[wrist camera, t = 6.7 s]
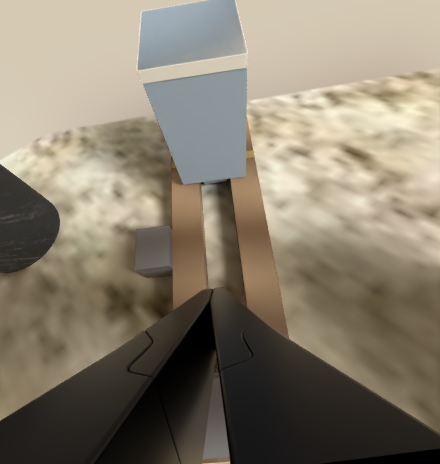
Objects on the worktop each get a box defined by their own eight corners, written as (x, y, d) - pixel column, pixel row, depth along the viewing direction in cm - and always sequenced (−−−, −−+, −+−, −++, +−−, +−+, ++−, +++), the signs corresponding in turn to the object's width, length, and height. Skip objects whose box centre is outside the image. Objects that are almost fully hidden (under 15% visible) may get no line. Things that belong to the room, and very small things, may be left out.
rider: (246, 189, 20) (248, 53, 11) (187, 196, 21) (136, 71, 11) (239, 143, 23) (234, -5, 13) (185, 150, 23) (140, 11, 13)
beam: (304, 442, 14) (325, 481, 10) (141, 455, 14) (105, 496, 10) (246, 129, 23) (246, 91, 20) (151, 143, 24) (134, 108, 20)
